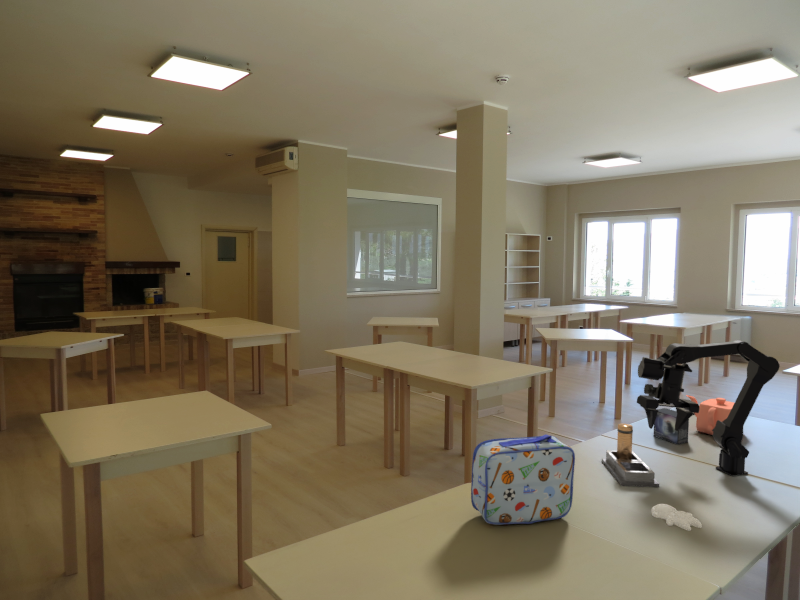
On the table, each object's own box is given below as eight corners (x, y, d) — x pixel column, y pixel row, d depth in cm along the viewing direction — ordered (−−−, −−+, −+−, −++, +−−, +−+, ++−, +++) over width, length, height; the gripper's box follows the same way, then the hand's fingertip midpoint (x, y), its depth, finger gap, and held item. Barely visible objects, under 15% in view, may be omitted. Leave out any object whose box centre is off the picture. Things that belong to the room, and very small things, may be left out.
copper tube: (634, 465, 169) (635, 426, 168) (626, 468, 166) (627, 428, 165) (621, 460, 172) (622, 422, 171) (613, 464, 170) (614, 425, 169)
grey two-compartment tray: (601, 461, 175) (602, 449, 174) (635, 462, 174) (635, 450, 173) (621, 485, 156) (621, 472, 155) (659, 487, 155) (659, 474, 155)
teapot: (694, 420, 220) (696, 388, 219) (747, 432, 205) (749, 397, 204) (673, 429, 207) (675, 395, 206) (728, 443, 192) (730, 406, 191)
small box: (652, 436, 200) (653, 409, 199) (663, 433, 203) (664, 407, 202) (676, 445, 190) (678, 417, 190) (688, 442, 193) (690, 414, 192)
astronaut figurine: (681, 534, 129) (681, 522, 129) (643, 512, 140) (644, 501, 140) (707, 528, 132) (708, 517, 132) (668, 507, 143) (669, 496, 143)
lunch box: (558, 501, 145) (560, 424, 144) (580, 519, 136) (583, 437, 134) (467, 513, 138) (468, 433, 136) (483, 533, 128) (485, 446, 126)
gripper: (681, 378, 177) (673, 423, 178) (631, 373, 174) (623, 418, 176) (704, 388, 166) (695, 435, 167) (651, 382, 163) (642, 430, 165)
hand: (663, 429), depth 169 cm, fingers open, 9 cm apart
